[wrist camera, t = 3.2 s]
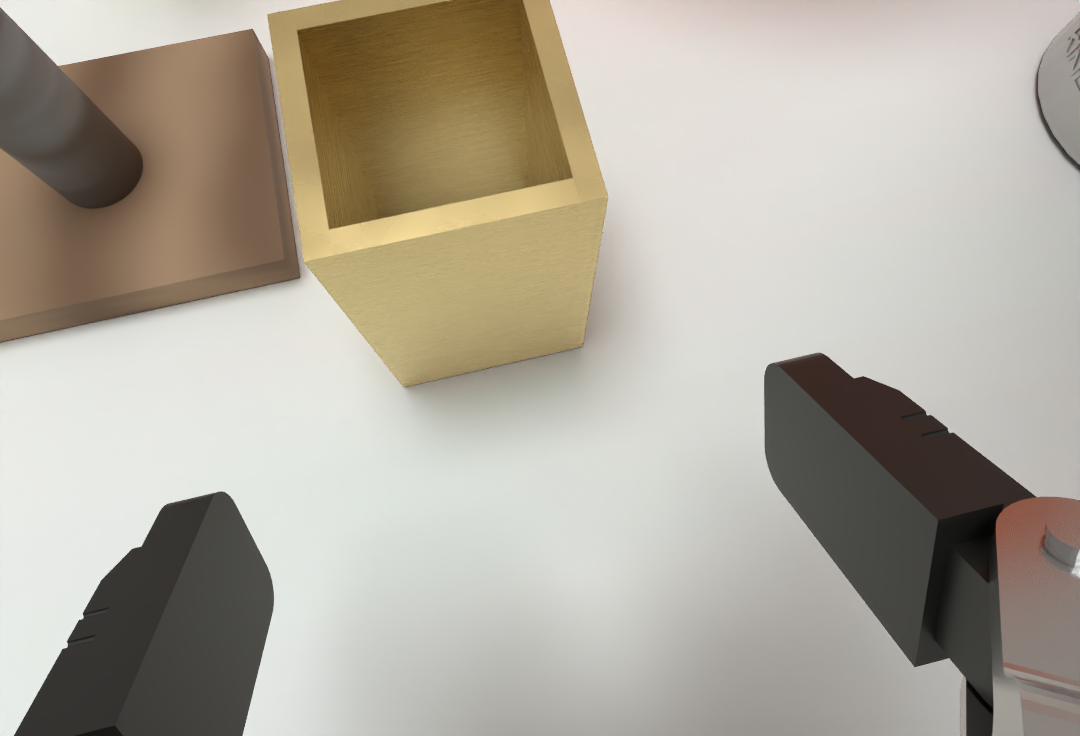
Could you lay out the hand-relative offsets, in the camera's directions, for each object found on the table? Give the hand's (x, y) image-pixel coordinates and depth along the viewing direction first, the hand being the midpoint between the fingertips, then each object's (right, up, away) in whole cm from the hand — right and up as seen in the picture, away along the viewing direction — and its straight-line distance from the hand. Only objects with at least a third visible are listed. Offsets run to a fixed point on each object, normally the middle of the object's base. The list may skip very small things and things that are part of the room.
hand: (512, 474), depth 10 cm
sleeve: (-2, +5, +14) cm, 15 cm away
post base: (-15, +8, +15) cm, 23 cm away
